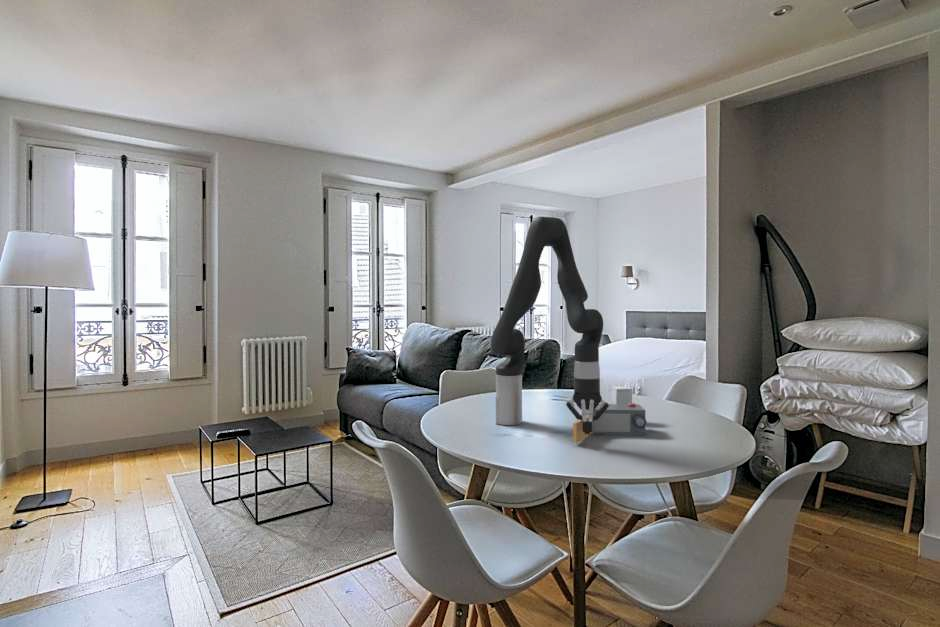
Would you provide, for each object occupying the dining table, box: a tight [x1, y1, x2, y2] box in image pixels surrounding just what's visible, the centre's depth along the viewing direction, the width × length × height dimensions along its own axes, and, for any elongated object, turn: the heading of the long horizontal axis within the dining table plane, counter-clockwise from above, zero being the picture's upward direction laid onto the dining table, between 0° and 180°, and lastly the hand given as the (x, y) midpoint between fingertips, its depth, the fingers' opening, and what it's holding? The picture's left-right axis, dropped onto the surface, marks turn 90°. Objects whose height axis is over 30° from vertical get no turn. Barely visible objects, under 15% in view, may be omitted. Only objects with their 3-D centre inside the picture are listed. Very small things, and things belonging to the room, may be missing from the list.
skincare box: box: [611, 386, 633, 404], centre depth 182 cm, size 6×4×12 cm
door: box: [570, 412, 595, 444], centre depth 159 cm, size 15×2×7 cm, turn 147°
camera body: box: [586, 402, 647, 436], centre depth 168 cm, size 18×11×9 cm, turn 84°
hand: (587, 433), depth 153 cm, fingers closed
